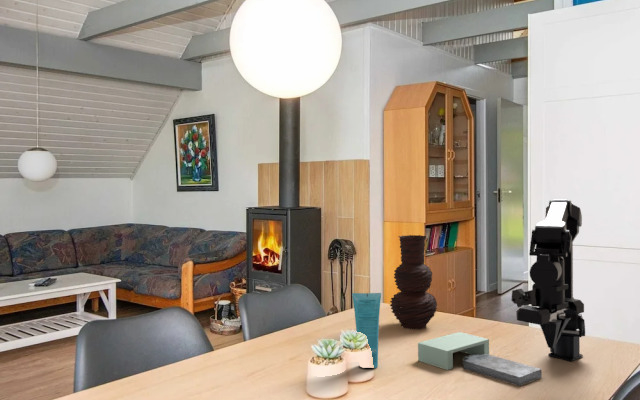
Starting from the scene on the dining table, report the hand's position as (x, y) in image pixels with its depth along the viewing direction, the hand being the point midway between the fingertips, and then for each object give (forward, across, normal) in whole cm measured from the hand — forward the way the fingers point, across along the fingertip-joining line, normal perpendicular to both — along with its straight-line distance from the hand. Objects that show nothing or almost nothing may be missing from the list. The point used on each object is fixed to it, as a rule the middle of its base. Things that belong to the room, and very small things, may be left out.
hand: (551, 347), depth 129 cm
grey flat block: (+9, 0, -13) cm, 16 cm away
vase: (+10, -17, -59) cm, 62 cm away
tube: (+9, +22, -38) cm, 45 cm away
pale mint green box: (+9, 0, -28) cm, 30 cm away
